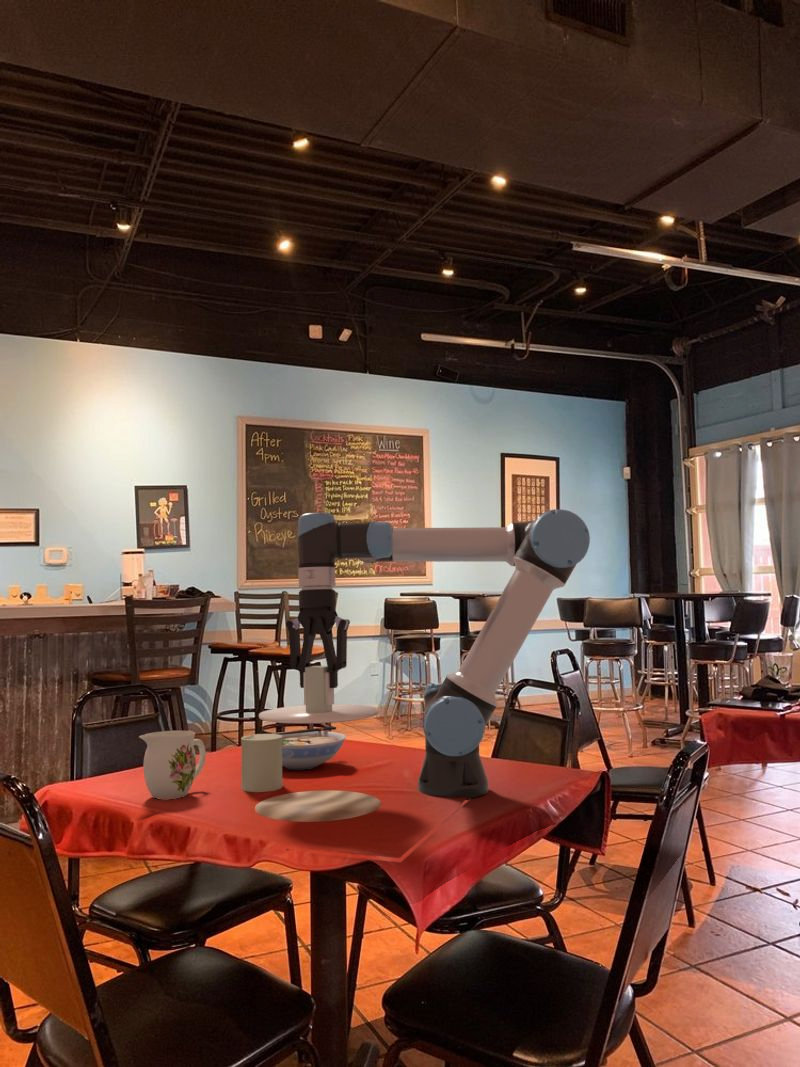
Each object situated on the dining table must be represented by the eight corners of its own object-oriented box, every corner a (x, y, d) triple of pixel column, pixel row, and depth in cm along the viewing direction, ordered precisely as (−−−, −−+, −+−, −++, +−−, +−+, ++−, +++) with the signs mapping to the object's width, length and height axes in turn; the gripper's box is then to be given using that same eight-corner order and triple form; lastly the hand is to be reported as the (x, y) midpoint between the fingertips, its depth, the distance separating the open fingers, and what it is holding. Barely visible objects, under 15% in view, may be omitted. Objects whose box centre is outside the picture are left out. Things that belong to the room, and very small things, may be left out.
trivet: (398, 797, 168) (398, 794, 168) (350, 829, 145) (350, 825, 145) (291, 790, 177) (291, 787, 177) (230, 819, 153) (230, 815, 153)
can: (237, 787, 180) (238, 733, 181) (278, 783, 183) (278, 730, 184) (243, 796, 171) (244, 739, 173) (286, 792, 175) (286, 736, 176)
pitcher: (221, 789, 178) (222, 726, 179) (157, 807, 163) (158, 738, 164) (187, 784, 184) (187, 723, 185) (122, 801, 169) (123, 734, 170)
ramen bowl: (270, 781, 186) (270, 745, 186) (238, 765, 205) (238, 733, 206) (366, 769, 198) (366, 735, 199) (327, 755, 218) (327, 724, 219)
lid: (395, 708, 169) (394, 662, 170) (350, 724, 147) (349, 671, 148) (293, 706, 178) (292, 662, 178) (236, 721, 155) (235, 671, 156)
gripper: (271, 589, 164) (272, 706, 162) (348, 587, 158) (350, 707, 156) (288, 590, 171) (290, 701, 169) (362, 587, 165) (365, 702, 163)
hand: (319, 704), depth 162 cm, fingers closed on lid, 4 cm apart
